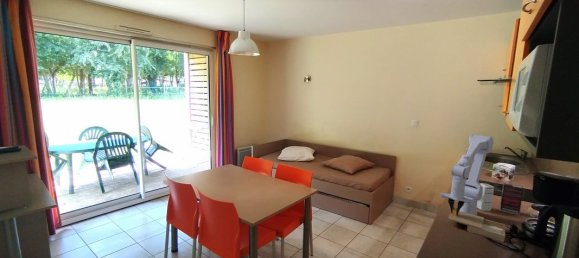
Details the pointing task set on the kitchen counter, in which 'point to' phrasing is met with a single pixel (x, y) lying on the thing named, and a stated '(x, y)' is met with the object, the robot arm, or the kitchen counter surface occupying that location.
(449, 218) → the lid panel
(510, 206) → the supplement box
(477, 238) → the kitchen counter surface
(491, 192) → the syrup box
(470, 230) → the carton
